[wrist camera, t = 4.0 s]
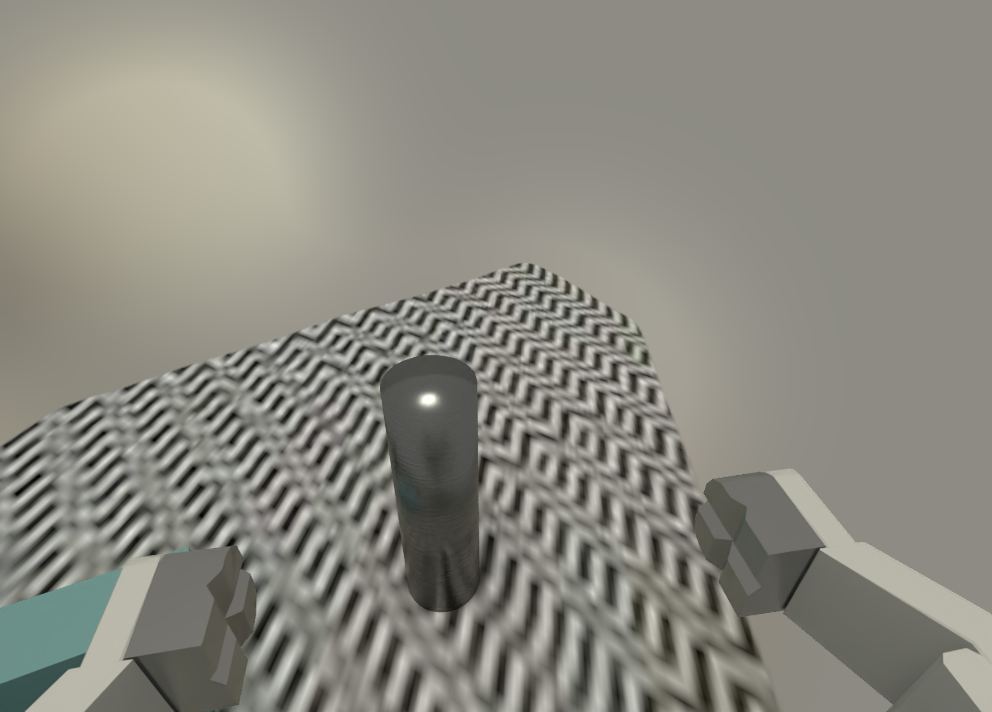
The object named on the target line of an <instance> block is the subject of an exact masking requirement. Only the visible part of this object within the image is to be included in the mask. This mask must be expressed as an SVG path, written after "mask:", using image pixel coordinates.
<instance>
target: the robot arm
mask: <svg viewBox="0 0 992 712" xmlns="http://www.w3.org/2000/svg"><path fill="white" fill-rule="evenodd" d="M704 495H705V496H706V498H707V500H708V501H707V502H706V503H704V504H703V505H702V506H701V507H700V508H699V509H698V511H697V515H696V519H695V529H696V537H697V540H698V543H699V546H700V548H701V550H702V552H703V554H704V556H705V558H706V560H707V561H709V562H710V563H712V564H713V565H714V566H716V567H717V568H719V569H720V570H721V572H720V578H719V584H720V585H721V587H722V589H723V591H724V593H725V594H726V596H727V598H728V600H729V602H730V604H731V605H732V607H733V609H734V611H735V613H736V614H737V616H738V617H743V616H750V615H757V614H764V613H771V612H777V611H784V612H783V614H784V615H786V616H787V617H788V618H789V619H790V620H792V621H793V622H794V623H795V624H797V625H798V626H799V627H800V628H801V629H802V630H804V631H805V632H806V633H807V634H809V635H810V636H811V637H812V638H813V639H815V640H816V641H817V642H819V644H821V645H822V646H823V647H824V648H825V649H827V650H828V651H829V652H830V653H831V654H833V655H834V656H835V657H837V658H838V659H839V660H840V661H841V662H842V663H843V664H845V665H846V666H847V667H848V668H850V669H851V670H852V671H853V672H854V673H856V674H857V675H858V676H859V677H860V678H862V679H863V680H864V681H865V682H867V683H868V684H869V685H870V686H871V687H872V688H874V689H875V690H876V691H877V692H878V693H880V694H881V695H882V696H883V697H884V698H886V699H887V700H888V701H889V702H890V703H892V704H893V706H892V707H891V708H890V709H889V710H888V711H887V712H992V614H990V613H989V612H987V611H985V610H983V609H982V608H980V607H978V606H976V605H974V604H973V603H971V602H969V601H967V600H966V599H964V598H962V597H960V596H959V595H957V594H955V593H953V592H952V591H950V590H948V589H946V588H945V587H943V586H941V585H939V584H937V583H936V582H934V581H932V580H930V579H929V578H927V577H925V576H923V575H921V574H920V573H918V572H916V571H915V570H913V569H911V568H909V567H907V566H906V565H904V564H902V563H900V562H899V561H897V560H895V559H893V558H892V557H890V556H888V555H886V554H885V553H883V552H881V551H879V550H877V549H876V548H874V547H872V546H870V545H868V544H867V543H865V542H857V543H856V542H855V541H854V540H853V539H852V537H851V536H850V535H849V534H848V533H847V532H846V530H845V529H844V528H843V526H842V525H841V524H840V523H839V522H838V520H837V519H836V518H835V517H834V516H833V514H832V513H831V512H830V511H829V510H828V508H827V507H826V506H825V505H824V503H823V502H822V501H821V500H820V499H819V497H818V496H817V495H816V494H815V493H814V491H813V490H812V489H811V488H810V487H809V485H808V484H807V483H806V482H805V480H804V479H803V478H802V477H801V476H800V475H799V473H797V472H796V471H794V470H792V469H781V470H775V471H768V472H756V473H749V474H743V475H736V476H730V477H724V478H717V479H712V480H711V481H709V482H708V483H707V485H706V488H705V490H704ZM242 560H243V557H242V555H241V553H240V551H239V549H238V547H237V546H230V547H221V548H212V549H204V550H195V551H186V552H178V553H169V554H160V555H153V556H145V557H137V558H131V560H130V561H129V562H128V563H127V564H126V565H125V566H124V568H123V569H122V571H121V573H120V575H119V577H118V580H117V582H116V584H115V587H114V589H113V591H112V594H111V596H110V598H109V601H108V603H107V605H106V608H105V610H104V612H103V615H102V617H101V619H100V622H99V624H98V626H97V628H96V631H95V633H94V635H93V638H92V640H91V642H90V645H89V647H88V649H87V652H86V654H85V656H84V659H83V661H82V663H81V666H80V667H78V668H72V669H68V670H67V671H66V672H65V673H64V674H63V675H62V676H61V677H60V678H59V679H58V680H57V681H56V682H55V683H54V684H53V685H52V686H51V687H50V688H49V689H48V690H47V691H46V692H45V693H44V694H42V695H41V696H40V697H39V698H38V699H37V700H36V701H35V702H34V703H33V704H32V705H31V706H30V707H29V708H28V709H27V710H26V711H25V712H206V711H211V710H216V709H221V708H226V707H231V706H235V705H239V701H240V696H241V691H242V686H243V681H244V676H245V671H246V666H247V661H248V660H247V658H246V656H245V654H244V652H243V650H242V649H241V646H242V645H243V644H244V642H245V641H246V640H247V639H248V637H249V636H250V635H251V634H252V633H253V629H254V623H255V618H256V590H255V585H254V582H253V579H252V577H251V575H250V574H249V573H247V572H245V571H243V570H241V564H242Z"/></svg>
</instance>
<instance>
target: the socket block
mask: <svg viewBox="0 0 992 712" xmlns="http://www.w3.org/2000/svg"><path fill="white" fill-rule="evenodd" d="M186 551H191V550H190V548H189V547H186V548H183V549H180V550H177V551H174V552H171V553H178V552H186ZM168 554H169V553H168ZM122 569H123V568H122ZM122 569H119V570H115V571H112V572H109V573H106V574H103V575H100V576H97V577H94V578H91V579H88V580H85V581H82V582H79V583H76V584H73V585H69V586H66V587H63V588H60V589H57V590H54V591H51V592H48V593H45V594H42V595H39V596H36V597H33V598H30V599H27V600H24V601H20V602H17V603H14V604H11V605H8V606H5V607H2V608H0V712H25V711H26V710H27V709H28V708H29V707H30V706H31V705H32V704H33V703H34V702H35V701H36V700H37V699H38V698H39V697H40V696H41V695H42V694H44V693H45V692H46V691H47V690H48V689H49V688H50V687H51V686H52V685H53V684H54V683H55V682H56V681H57V680H58V679H59V678H60V677H61V676H62V675H63V674H64V673H65V672H66V671H67V670H68V669H72V668H78V667H80V666H81V663H82V661H83V659H84V656H85V654H86V652H87V649H88V647H89V645H90V642H91V640H92V638H93V635H94V633H95V631H96V628H97V626H98V624H99V622H100V619H101V617H102V615H103V612H104V610H105V608H106V605H107V603H108V601H109V598H110V596H111V594H112V591H113V589H114V587H115V584H116V582H117V580H118V577H119V575H120V573H121V571H122ZM206 712H214V710H211V711H206Z"/></svg>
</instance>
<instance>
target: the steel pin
mask: <svg viewBox="0 0 992 712" xmlns="http://www.w3.org/2000/svg"><path fill="white" fill-rule="evenodd" d="M380 392H381V399H382V406H383V413H384V420H385V427H386V434H387V441H388V448H389V455H390V462H391V468H392V475H393V482H394V489H395V496H396V503H397V510H398V517H399V524H400V531H401V538H402V545H403V552H404V559H405V566H406V573H407V580H408V587H409V591H410V593H411V595H412V597H413V599H414V600H415V601H416V602H417V603H418V604H419V605H420V606H422V607H424V608H426V609H428V610H431V611H436V612H447V611H452V610H455V609H457V608H459V607H461V606H463V605H464V604H466V603H467V602H468V601H469V600H470V599H471V598H472V597H473V595H474V594H475V592H476V590H477V587H478V584H479V504H478V415H477V378H476V375H475V373H474V372H473V370H472V369H471V368H470V367H469V366H468V365H466V364H465V363H463V362H461V361H459V360H457V359H454V358H451V357H446V356H439V355H426V356H419V357H414V358H410V359H407V360H405V361H402V362H400V363H398V364H397V365H395V366H393V367H392V368H391V369H390V370H389V371H388V372H387V373H386V374H385V375H384V377H383V379H382V381H381V384H380Z"/></svg>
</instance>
